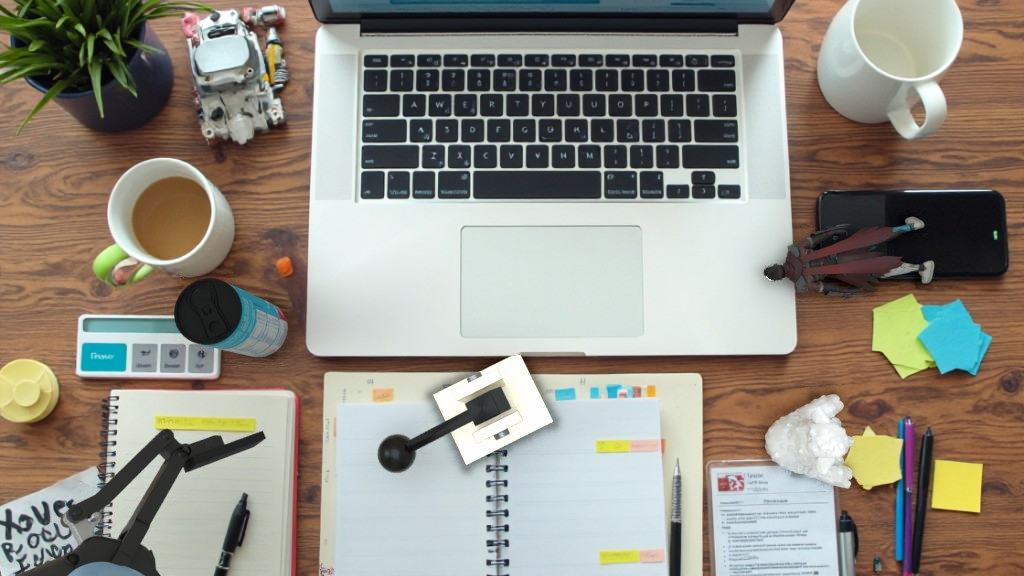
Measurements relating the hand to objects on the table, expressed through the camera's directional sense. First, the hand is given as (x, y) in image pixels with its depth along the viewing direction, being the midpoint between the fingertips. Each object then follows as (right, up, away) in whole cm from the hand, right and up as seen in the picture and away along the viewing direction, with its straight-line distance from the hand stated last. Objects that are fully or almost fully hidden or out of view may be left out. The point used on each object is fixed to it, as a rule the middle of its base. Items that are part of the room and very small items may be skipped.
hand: (288, 508), depth 68 cm
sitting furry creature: (+50, +3, +11) cm, 51 cm away
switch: (+14, +7, +3) cm, 16 cm away
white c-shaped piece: (+18, +7, +12) cm, 23 cm away
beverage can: (-7, +15, +14) cm, 22 cm away
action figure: (+55, +22, +15) cm, 61 cm away
